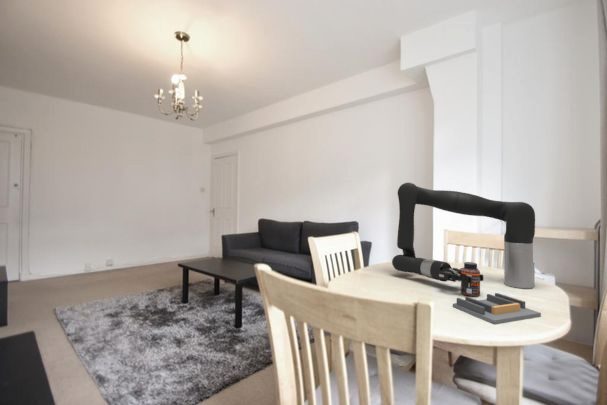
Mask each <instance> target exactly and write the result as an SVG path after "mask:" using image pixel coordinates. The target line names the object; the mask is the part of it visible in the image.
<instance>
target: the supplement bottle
mask: <svg viewBox="0 0 607 405" xmlns="http://www.w3.org/2000/svg"><path fill="white" fill-rule="evenodd" d="M463 264H464V265H463V267H461V268H462V269H461V275H465V276H470V277H472V283H466V282H462V281H460V293H461V294H463V295H465V296H466V297H472V298H474V297H479V296H481V281H480V274H481V271H480V269H479V268H478V264H477V263H476V262H472V261H464V263H463Z"/></svg>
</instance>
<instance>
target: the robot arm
mask: <svg viewBox="0 0 607 405" xmlns="http://www.w3.org/2000/svg"><path fill="white" fill-rule="evenodd" d="M397 198H398V206H399V208H398V210H399V215H398V218H399V220H398V228H397V238H396V239H397V240H396V246H397V248H398V249H400V250H402V254H397V255H395V256H393V258H392V259H391V265H392V266H393V268H394V269H395V270H397V271H399V272H403V273H404V272H405V273H410V274H411V273H412V274H416V275H420V276H422V277H423V276H424V277H426V278H429V279H432V280H437V281H440V282H444V283H445V282H448V281H450V282H460V283H461V281H462V282H466V283H472V277H470V276H465V275H461V269H462V268H463V267H460V268H458V267H452V266H451V264H450V263H449V262H447V261H441V260H437V259H429V258H422V257H416V253H415V252H416V251H415V248H414V247H415V246H414V241H415V212H416V211H415V209H416V205H422V206H428V207H432V208H435V209H437V210H438V209H439V210H440V211H445V212H449V213H454V214H460V215H464V216H473V217H474V216H475V217H486V218H492V219H495V220H499V221H502V222H505V233H504V235H503V238H504V239H503V240H504V241H503V242H504V243H503V245H504V247H503V249H504V250H503V251H504V253H503V254H504V256H503V257H504V259H503V260H504V263H503V264H504V266H503V267H504V269H503V270H504V285H506V286H509V287H514V288H518V289H533V288H534V287H535V283H536V282H535V272H536V271H535V262H534V237H535V234H536V213H535V209H534V208H533V206H532V205H530V204H529V203H527V202H524V201H501V200H493V199H489V198H485V197H482V196H480V195H475V194H472V193H467V192H461V191H456V190H455V191H454V190H443V189H441V190H438V189H437V190H436V189H435V190H433V189H428V188H424V187H420V186H418V185H416V184H414V182H404V183H402V184H401V185H400V186H399V187H398V189H397ZM483 281H484V275H483V274H481V273H480V282H483Z"/></svg>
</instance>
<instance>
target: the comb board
mask: <svg viewBox="0 0 607 405" xmlns="http://www.w3.org/2000/svg"><path fill="white" fill-rule="evenodd" d="M452 307H453V308H455V309H457V310H460V311H462V312H463V313H467V314H469V315H471V316H473V317H476V318H478V319H481V320H483V321H486V322H488V323H490V324H493V325H498V324H503V323H509V322H515V321H520V320H526V319H528V320H529V319H533V318H540V317H542V313H541V312H540V311H536V310H533V309H531V308H527V307H526V301H525V300H521V299H518V298H515V297H512V296H509V295H508V296H507V295H505V294H501V293H498V292H495V293H494V294H490V293H487V294H486V299H479V300H477V299H476V298H474V297H471V296H465V298H464V299H463V298H461V297H456V303H452Z"/></svg>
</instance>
